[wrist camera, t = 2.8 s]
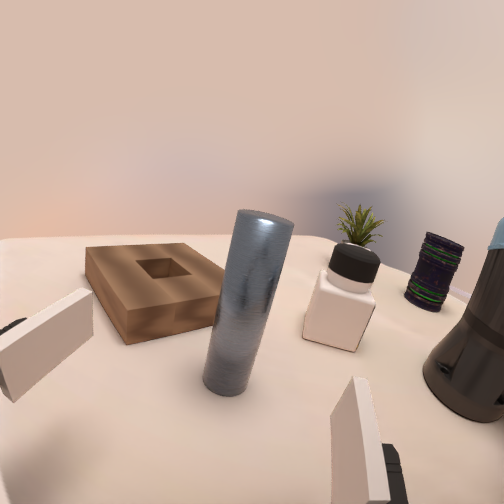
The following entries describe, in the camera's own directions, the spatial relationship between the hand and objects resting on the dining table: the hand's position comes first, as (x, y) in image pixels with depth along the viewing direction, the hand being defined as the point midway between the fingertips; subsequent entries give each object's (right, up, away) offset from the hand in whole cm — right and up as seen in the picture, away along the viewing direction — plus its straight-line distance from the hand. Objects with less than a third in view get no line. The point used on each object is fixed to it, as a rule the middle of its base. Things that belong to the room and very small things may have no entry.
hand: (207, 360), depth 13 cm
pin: (0, -7, +12) cm, 14 cm away
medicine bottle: (+12, -6, +25) cm, 28 cm away
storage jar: (+40, -6, +45) cm, 61 cm away
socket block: (-10, -1, +24) cm, 26 cm away
